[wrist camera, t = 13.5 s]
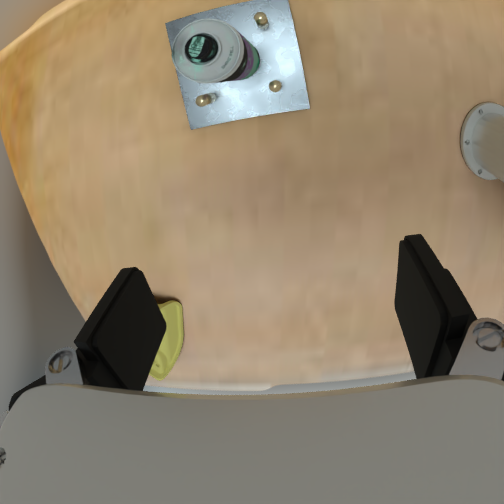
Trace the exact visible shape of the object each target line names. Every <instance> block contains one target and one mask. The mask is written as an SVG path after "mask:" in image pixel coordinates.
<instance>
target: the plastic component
mask: <svg viewBox="0 0 504 504" xmlns="http://www.w3.org/2000/svg"><path fill="white" fill-rule="evenodd" d="M158 306H159V309H160V311H161V313H162V315H163V317H164V319H165V321H166V325H167V328H166V332H165V334H164V337H163V339H162V342H161V344H160V347H159V349H158V352H157V354H156V357H155V360H154V362H153V365H152V367H151V370H150V372H149V375H151V376H152V377H154V378H155V379H156V380H159V381H160V380H163V379H164V378H165V377H166V376H167V375H168V373H169V372H170V371H171V369H172V367H173V366H174V364H175V362H176V360H177V358H178V356H179V354H180V351H181V348H182V344H183V336H184V332H183V314H182V305H181V304H180V303H179V302H177V301H174V300H171V301H168V302H166V303H163V304H158Z"/></svg>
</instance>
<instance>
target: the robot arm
mask: <svg viewBox="0 0 504 504" xmlns="http://www.w3.org/2000/svg"><path fill="white" fill-rule="evenodd" d="M460 144H461V151H462V155H463V158H464V160H465V163H466V164H467V166H468V167H469V169H470V170H471V171H472V172H473V173H474V174H476V175H477V176H479V177H481V178H483V179H486V180H495V179H499V180H501V181H502V182H504V107H503V106H501V105H499V104H496V103H491V102H485V103H481V104H479V105H477V106H476V107H474V108H473V109H472V110H471V111H470V112H469V114H468V115H467V117H466V119H465V120H464V123H463V126H462V130H461V140H460ZM395 310H396V314H397V317H398V319H399V322H400V325H401V328H402V331H403V335H404V338H405V341H406V344H407V347H408V350H409V354H410V357H411V360H412V364H413V367H414V371H415V374H416V378H417V379H414V380H407V381H401V382H394V383H388V384H381V385H373V386H366V387H358V388H349V389H340V390H330V391H319V392H307V393H292V394H268V395H198V394H197V395H196V394H175V393H160V392H159V393H158V392H147V391H143V388H144V386H145V383H146V380H147V378H148V375H149V372H150V370H151V367H152V365H153V362H154V360H155V357H156V354H157V352H158V349H159V347H160V344H161V342H162V339H163V337H164V334H165V332H166V328H167V325H166V321H165V319H164V317H163V315H162V313H161V311H160V309H159V306H158V304H157V302H156V300H155V298H154V296H153V294H152V292H151V289H150V287H149V285H148V283H147V281H146V278H145V276H144V274H143V272H142V271H140V270H139V269H138V268H136V267H131V268H123V269H122V270H121V271H120V272H119V273H118V275H117V276H116V278H115V279H114V281H113V282H112V284H111V285H110V286H109V288H108V289H107V291H106V292H105V294H104V295H103V297H102V298H101V300H100V301H99V303H98V304H97V306H96V307H95V309H94V310H93V312H92V313H91V315H90V317H89V318H88V320H87V321H86V323H85V324H84V326H83V328H82V329H81V331H80V332H79V334H78V336H77V337H76V339H75V340H74V343H75V344H76V346H77V347H78V348H77V350H76V351H75V350H74V349H73V348H71V347H64V348H61V349H59V350H57V351H56V352H54V353H53V354H52V355H51V356H50V358H49V359H48V361H47V363H46V365H45V375H44V376H43V377H41V378H40V379H38V380H36V381H34V382H33V383H31V384H29V385H28V386H26V387H25V388H23V389H21V390H19V391H18V392H16V393H15V394H14V395H13V396H12V398H11V401H10V404H9V412H8V411H7V410H6V411H5V412H4V413H3V414H2V415H1V416H0V504H504V324H502V323H501V322H500V321H498V320H496V319H492V318H480V319H477V318H476V316H475V314H474V312H473V310H472V308H471V307H470V305H469V303H468V301H467V300H466V298H465V296H464V295H463V293H462V291H461V289H460V288H459V286H458V285H457V283H456V281H455V280H454V278H453V276H452V275H451V273H450V272H449V271H448V269H444V268H443V266H442V265H441V263H440V262H439V260H438V259H437V257H436V255H435V254H434V252H433V251H432V249H431V248H430V246H429V245H428V243H427V242H426V240H425V239H424V237H423V236H422V235H421V234H416V235H408V236H405V238H404V240H402V241H400V243H399V258H398V271H397V283H396V293H395Z"/></svg>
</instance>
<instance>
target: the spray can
mask: <svg viewBox="0 0 504 504" xmlns="http://www.w3.org/2000/svg"><path fill="white" fill-rule="evenodd" d="M172 59H173V63H174V65H175V67H176V69H177V70H178V71H179V73H181V74H182V75H183V76H184V77H186V78H187V79H189V80H192V81H195V82H197V83H204V84H206V83H218V82H227V81H237V80H244V79H247V78H249V77H251V76H252V75H253V74H254V73H255V72H256V71H257V70H258V68H259V65H260V55H259V53H258V50H257V49H256V48H255V47H254V46H253V45H252V44H251V43H250V42H249V41H248V40H247V39H246V38H245V37H244V36H243V35H242V34H240V33H239V32H238V31H237V30H236V29H235V28H234V27H233V26H231V25H230V24H228V23H226V22H224V21H221V20H217V19H200V20H197V21H194V22H192V23H190V24H188V25H187V26H185V27H184V28H183V29H182V30H181V31H180V32H179V33H178V35H177V36H176V38H175V40H174V42H173V46H172Z"/></svg>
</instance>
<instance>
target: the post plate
mask: <svg viewBox="0 0 504 504" xmlns="http://www.w3.org/2000/svg"><path fill="white" fill-rule="evenodd" d="M200 19H217V20H221V21H224V22H226V23H228V24H230V25H231V26H233V27H234V28H235V29H236V30H237V31H238V32H239V33H240V34H242V35H243V36H244V37H245V38H246V39H247V40H248V41H249V42H250V43H251V44H252V45H253V46H254V47H255V48H256V49H257V50H258V53H259V55H260V65H259V68H258V70H257V71H256V72H255V73H254V74H253V75H252V76H251V77H249V78H247V79H244V80H237V81H227V82H218V83H206V84H204V83H197V82H195V81H192V80H189V79H187V78H186V77H184V76H183V75H182V74H181V73H179V71H178V70H177V69H176V71H177V76H178V80H179V84H180V88H181V92H182V96H183V100H184V104H185V108H186V112H187V116H188V120H189V124H190V128H191V130H192V129H196V128H201V127H205V126H210V125H214V124H219V123H224V122H229V121H234V120H239V119H244V118H250V117H256V116H261V115H267V114H274V113H280V112H287V111H295V110H302V109H310V106H309V100H308V94H307V89H306V83H305V78H304V72H303V67H302V62H301V57H300V52H299V47H298V42H297V38H296V33H295V29H294V24H293V20H292V15H291V11H290V7H289V3H288V0H253V1H247V2H242V3H237V4H233V5H228V6H224V7H220V8H216V9H212V10H208V11H204V12H200V13H197V14H193V15H190V16H187V17H183V18H180V19H177V20H174V21H171V22H168V23H165V24H166V28H167V33H168V37H169V42H170V46H171V50H172V46H173V42H174V40H175V38H176V36H177V35H178V33H179V32H180V31H181V30H182V29H183V28H184V27H185V26H187V25H188V24H190V23H192V22H194V21H197V20H200Z"/></svg>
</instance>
